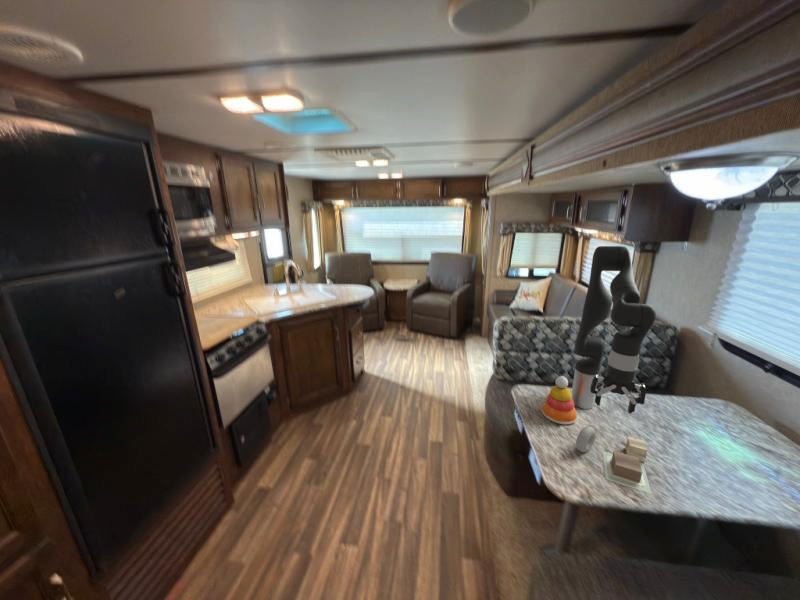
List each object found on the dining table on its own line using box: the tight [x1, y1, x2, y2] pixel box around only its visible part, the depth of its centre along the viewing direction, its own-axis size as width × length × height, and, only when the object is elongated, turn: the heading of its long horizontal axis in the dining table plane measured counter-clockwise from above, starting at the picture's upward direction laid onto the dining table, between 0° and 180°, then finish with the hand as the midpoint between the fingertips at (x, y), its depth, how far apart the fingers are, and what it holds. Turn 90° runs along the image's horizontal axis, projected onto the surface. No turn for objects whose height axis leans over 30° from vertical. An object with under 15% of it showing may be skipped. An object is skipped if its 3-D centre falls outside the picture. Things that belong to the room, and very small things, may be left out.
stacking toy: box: [540, 375, 579, 425], centre depth 130 cm, size 14×14×20 cm
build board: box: [602, 450, 653, 495], centre depth 103 cm, size 14×12×1 cm
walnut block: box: [612, 450, 642, 482], centre depth 103 cm, size 7×7×4 cm
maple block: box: [624, 436, 648, 463], centre depth 109 cm, size 5×5×6 cm
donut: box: [575, 426, 597, 453], centre depth 112 cm, size 10×4×10 cm, turn 123°
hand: (613, 408), depth 99 cm, fingers open, 8 cm apart
